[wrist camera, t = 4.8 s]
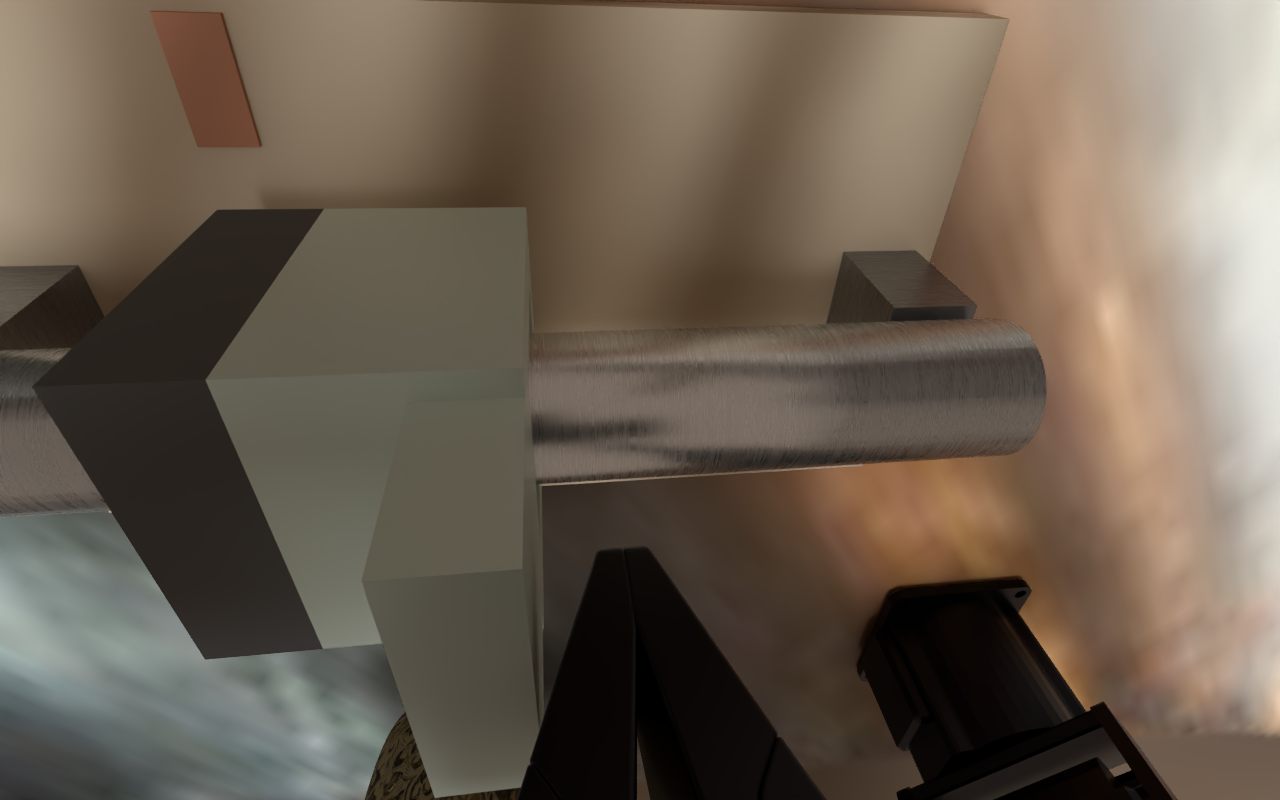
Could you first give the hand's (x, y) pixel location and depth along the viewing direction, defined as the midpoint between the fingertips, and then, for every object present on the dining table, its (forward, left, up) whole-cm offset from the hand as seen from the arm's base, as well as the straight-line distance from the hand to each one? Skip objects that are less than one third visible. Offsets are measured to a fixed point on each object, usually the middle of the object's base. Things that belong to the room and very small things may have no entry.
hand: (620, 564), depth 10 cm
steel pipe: (+2, 0, -10) cm, 10 cm away
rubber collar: (+6, 0, -7) cm, 9 cm away
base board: (+2, 0, -10) cm, 10 cm away
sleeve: (+3, 0, -7) cm, 8 cm away
